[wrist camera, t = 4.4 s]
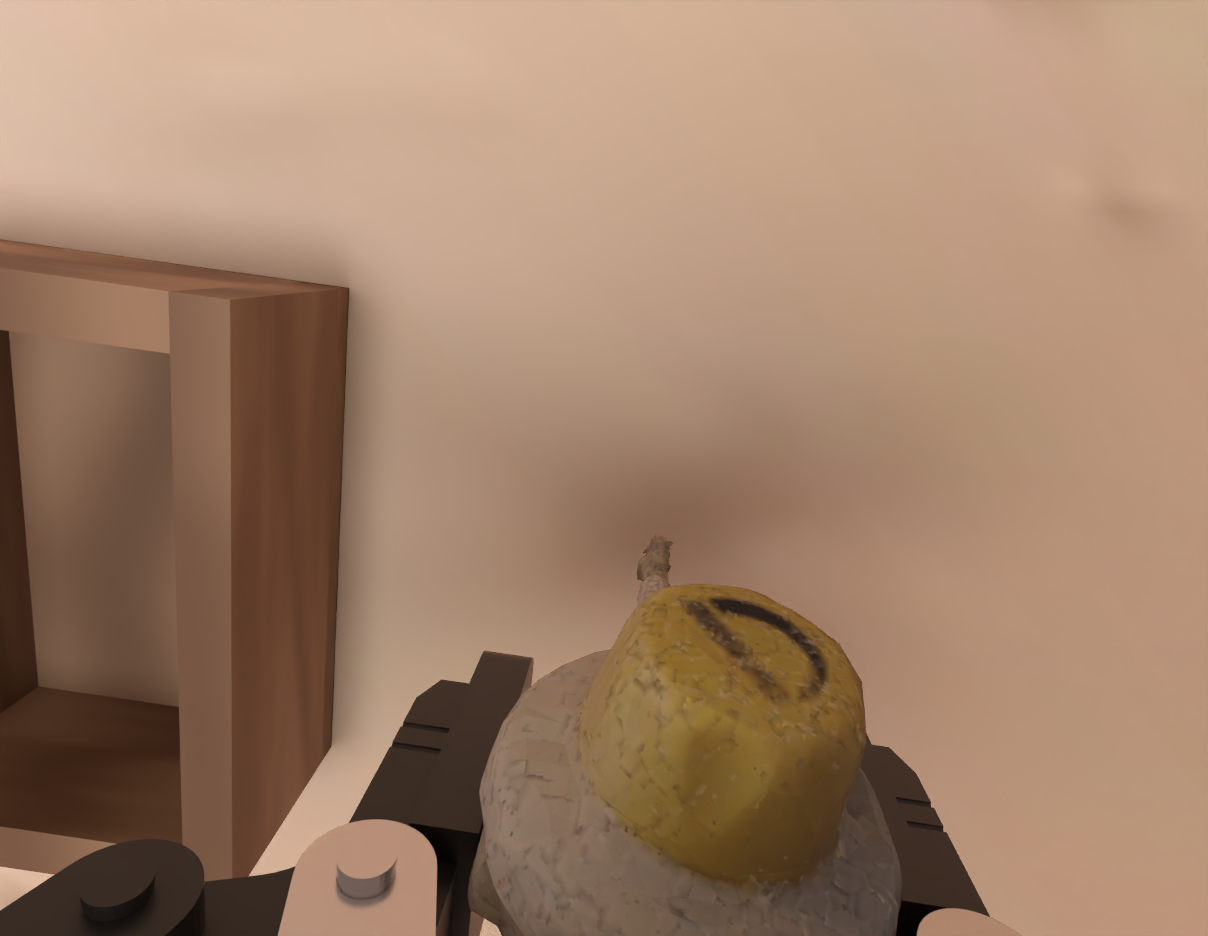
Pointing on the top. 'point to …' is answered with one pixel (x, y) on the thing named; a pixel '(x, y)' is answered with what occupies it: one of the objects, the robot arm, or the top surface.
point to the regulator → (688, 782)
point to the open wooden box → (163, 553)
